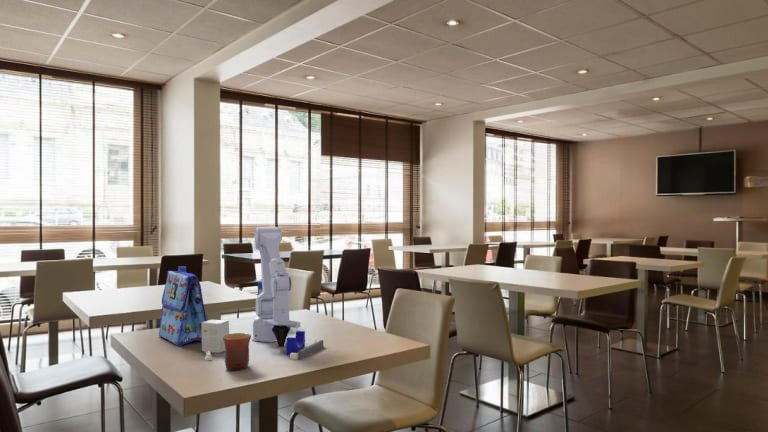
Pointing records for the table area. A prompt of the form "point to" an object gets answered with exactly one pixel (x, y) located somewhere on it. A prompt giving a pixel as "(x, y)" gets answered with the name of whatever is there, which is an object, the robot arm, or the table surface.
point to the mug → (236, 351)
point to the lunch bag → (182, 308)
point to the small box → (214, 335)
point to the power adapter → (208, 356)
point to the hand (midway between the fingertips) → (281, 346)
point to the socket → (307, 350)
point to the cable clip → (296, 342)
